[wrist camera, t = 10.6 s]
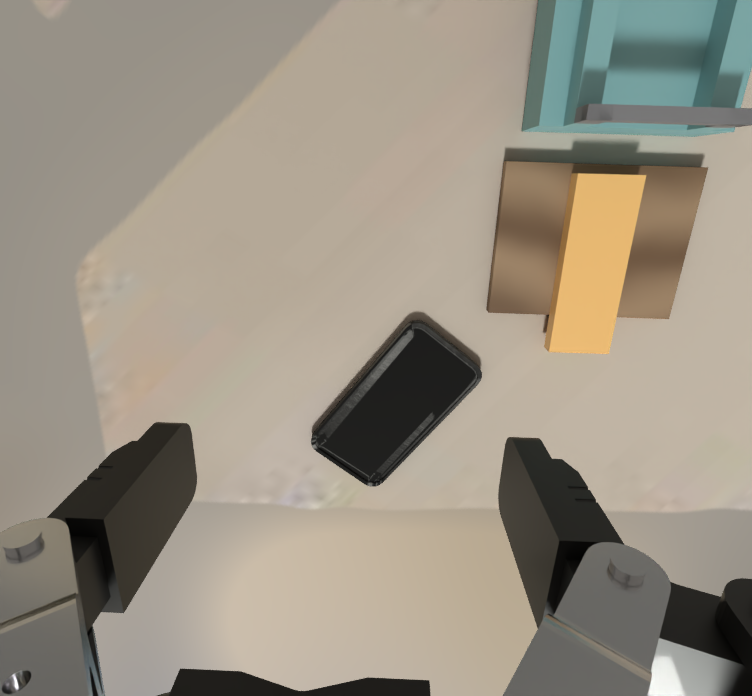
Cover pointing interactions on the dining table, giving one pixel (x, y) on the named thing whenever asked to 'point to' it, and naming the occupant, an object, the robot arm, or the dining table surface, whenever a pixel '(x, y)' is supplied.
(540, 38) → the ticket dispenser
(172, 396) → the dining table surface
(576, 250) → the ticket card
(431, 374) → the phone
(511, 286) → the walnut mat
